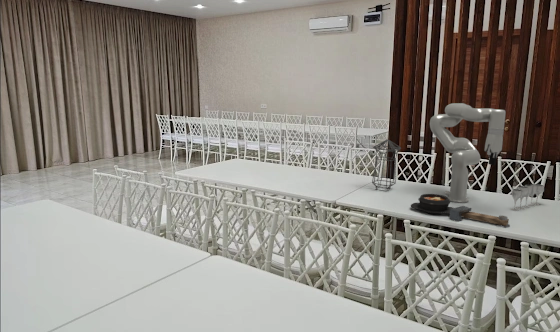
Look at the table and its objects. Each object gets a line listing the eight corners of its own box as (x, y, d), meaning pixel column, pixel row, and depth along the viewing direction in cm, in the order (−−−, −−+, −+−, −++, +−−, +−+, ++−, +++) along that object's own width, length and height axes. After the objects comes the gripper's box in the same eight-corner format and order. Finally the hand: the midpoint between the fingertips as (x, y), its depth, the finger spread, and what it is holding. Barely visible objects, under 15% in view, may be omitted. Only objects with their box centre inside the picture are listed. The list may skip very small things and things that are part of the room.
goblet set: (516, 211, 227) (519, 189, 224) (507, 209, 232) (509, 187, 229) (543, 204, 240) (546, 183, 238) (534, 202, 245) (536, 181, 242)
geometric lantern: (376, 185, 285) (380, 137, 278) (398, 189, 276) (403, 139, 269) (368, 189, 273) (372, 139, 266) (390, 193, 264) (394, 141, 257)
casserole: (407, 212, 225) (408, 197, 224) (414, 203, 241) (415, 190, 239) (454, 219, 213) (456, 204, 211) (458, 210, 229) (460, 196, 227)
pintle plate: (491, 224, 205) (491, 223, 205) (499, 221, 209) (499, 221, 209) (505, 228, 200) (505, 227, 199) (512, 225, 203) (512, 225, 203)
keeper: (449, 218, 214) (450, 209, 212) (462, 215, 220) (463, 205, 219) (457, 221, 209) (458, 211, 208) (470, 217, 216) (471, 208, 214)
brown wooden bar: (508, 223, 205) (509, 216, 204) (506, 225, 201) (507, 218, 200) (462, 214, 219) (462, 207, 218) (459, 216, 215) (460, 209, 214)
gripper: (496, 130, 226) (492, 162, 230) (481, 132, 218) (478, 164, 222) (509, 131, 220) (506, 164, 224) (494, 133, 212) (491, 167, 216)
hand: (492, 164), depth 223 cm, fingers closed
